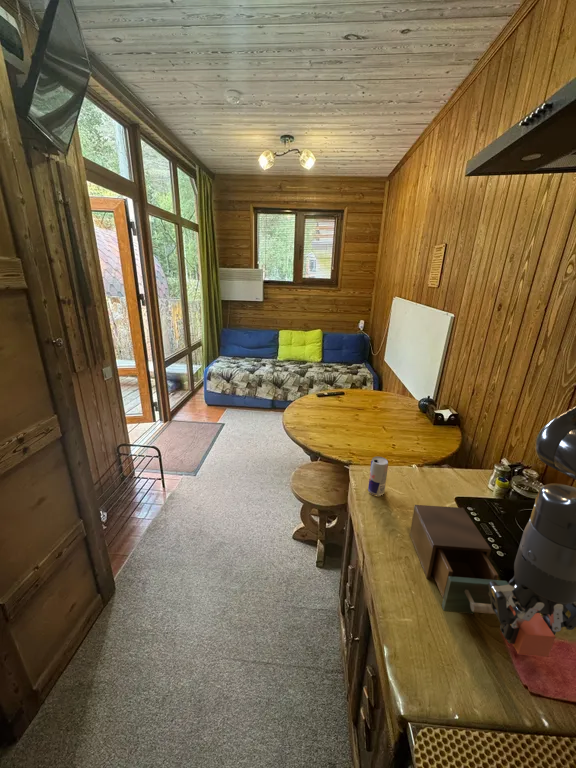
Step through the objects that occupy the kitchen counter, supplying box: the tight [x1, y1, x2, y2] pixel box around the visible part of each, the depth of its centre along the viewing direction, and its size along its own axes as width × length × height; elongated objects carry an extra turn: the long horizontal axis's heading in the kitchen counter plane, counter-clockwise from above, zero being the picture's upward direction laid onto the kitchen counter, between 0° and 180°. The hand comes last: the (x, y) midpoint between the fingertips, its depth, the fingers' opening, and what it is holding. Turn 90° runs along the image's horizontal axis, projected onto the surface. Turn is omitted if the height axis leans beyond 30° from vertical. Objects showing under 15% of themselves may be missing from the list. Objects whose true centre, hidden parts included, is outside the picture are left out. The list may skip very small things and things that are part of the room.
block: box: [512, 611, 556, 658], centre depth 49 cm, size 4×4×4 cm
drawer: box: [432, 548, 509, 615], centre depth 67 cm, size 17×11×8 cm
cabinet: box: [409, 504, 492, 580], centre depth 77 cm, size 14×13×10 cm
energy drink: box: [367, 456, 389, 497], centre depth 101 cm, size 5×5×12 cm
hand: (524, 638), depth 49 cm, fingers closed on block, 4 cm apart
